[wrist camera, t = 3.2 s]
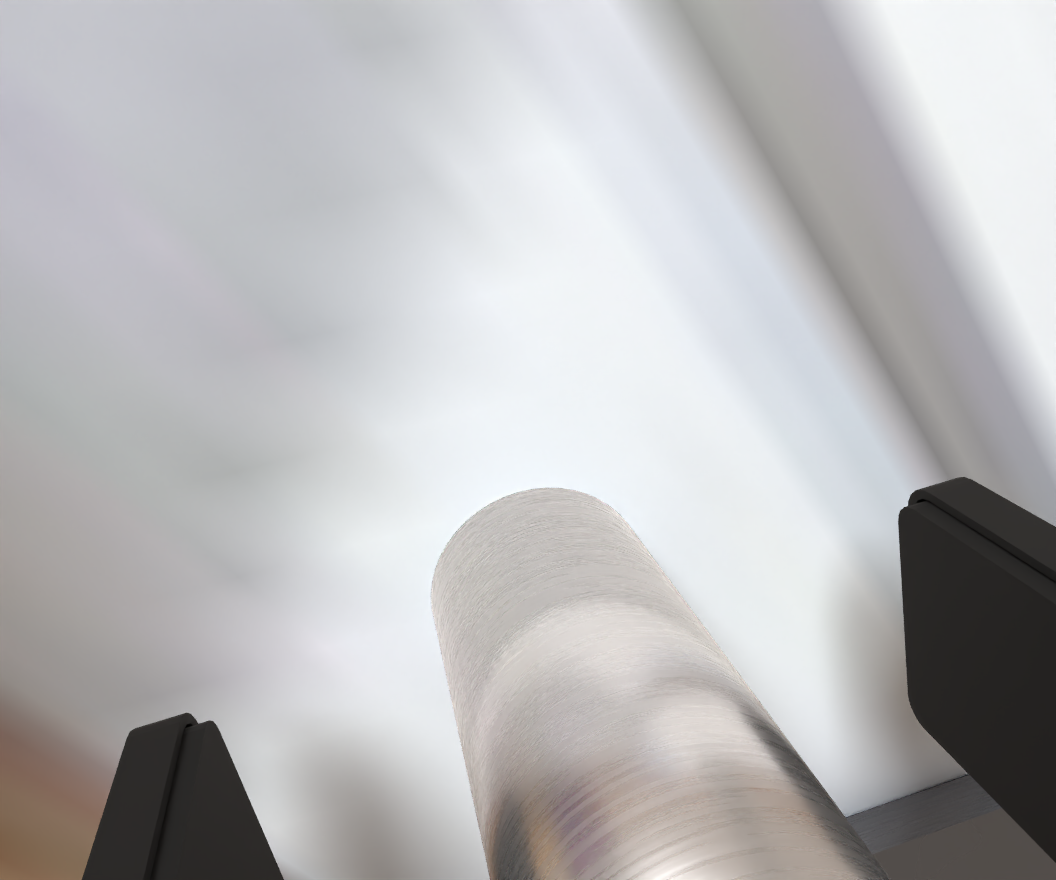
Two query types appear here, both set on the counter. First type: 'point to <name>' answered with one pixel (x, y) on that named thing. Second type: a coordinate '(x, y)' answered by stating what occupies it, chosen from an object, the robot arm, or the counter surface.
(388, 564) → the counter surface
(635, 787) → the pin
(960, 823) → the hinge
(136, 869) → the robot arm
